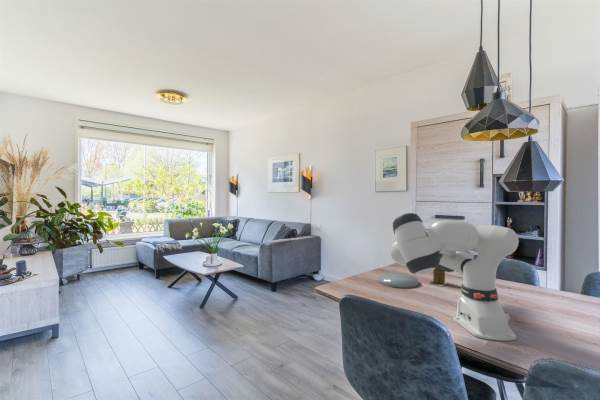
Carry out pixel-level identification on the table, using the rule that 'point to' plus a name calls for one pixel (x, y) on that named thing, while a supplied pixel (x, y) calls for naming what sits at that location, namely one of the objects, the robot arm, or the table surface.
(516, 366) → the table surface
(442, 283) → the yellow drink bottle
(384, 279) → the slate plate
